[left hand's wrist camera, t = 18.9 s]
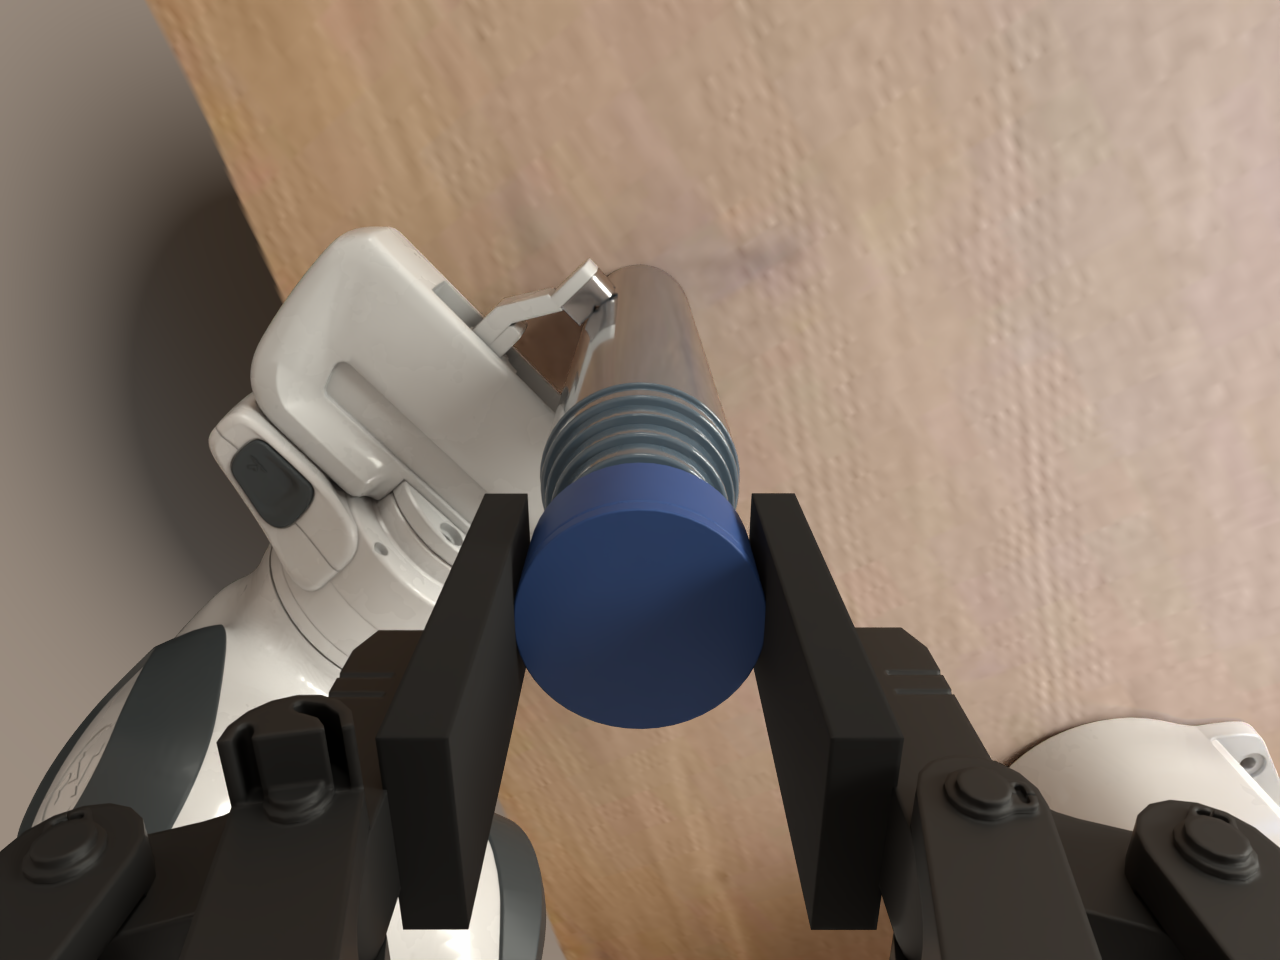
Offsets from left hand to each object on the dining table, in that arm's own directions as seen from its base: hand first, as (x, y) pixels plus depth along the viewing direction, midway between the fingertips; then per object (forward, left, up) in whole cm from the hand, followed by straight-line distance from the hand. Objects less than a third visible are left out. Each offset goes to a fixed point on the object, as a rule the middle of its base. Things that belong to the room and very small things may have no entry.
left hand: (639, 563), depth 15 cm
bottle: (0, 0, -24) cm, 24 cm away
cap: (0, 0, +2) cm, 2 cm away
